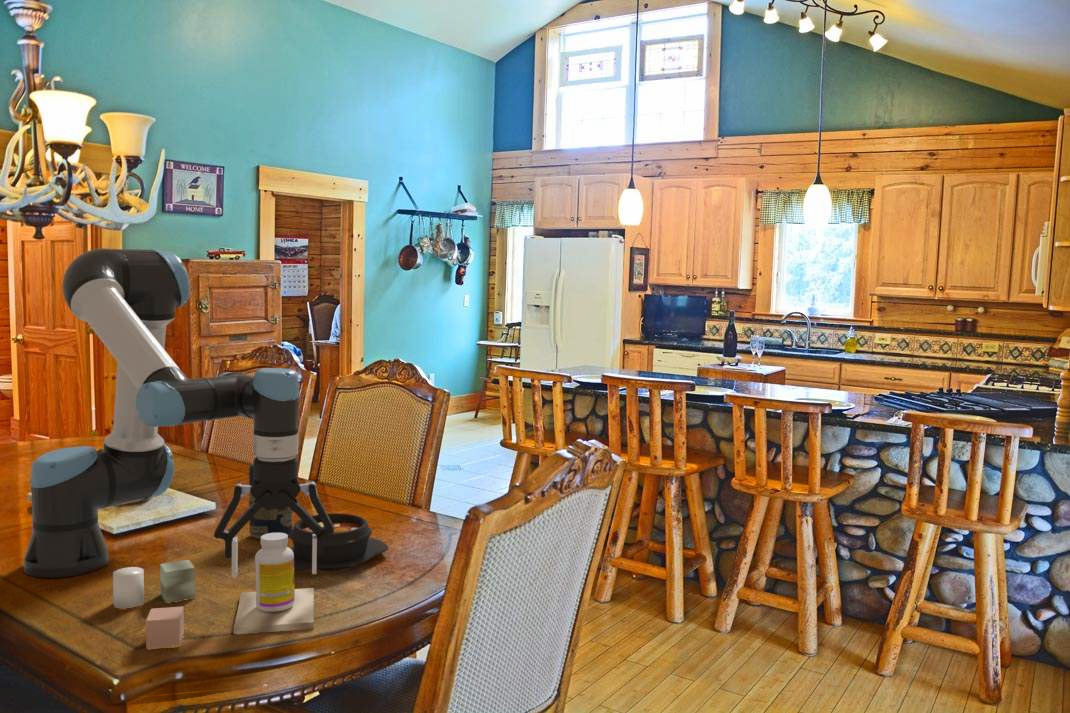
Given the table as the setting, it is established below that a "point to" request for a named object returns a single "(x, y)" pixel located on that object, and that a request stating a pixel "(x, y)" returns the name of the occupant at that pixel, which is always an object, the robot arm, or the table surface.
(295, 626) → the birch board
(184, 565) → the sage block
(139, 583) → the white domed cylinder
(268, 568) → the supplement bottle
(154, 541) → the table surface
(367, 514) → the table surface
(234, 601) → the table surface
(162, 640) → the terracotta block
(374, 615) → the table surface
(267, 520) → the canister
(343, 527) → the casserole
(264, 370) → the robot arm
